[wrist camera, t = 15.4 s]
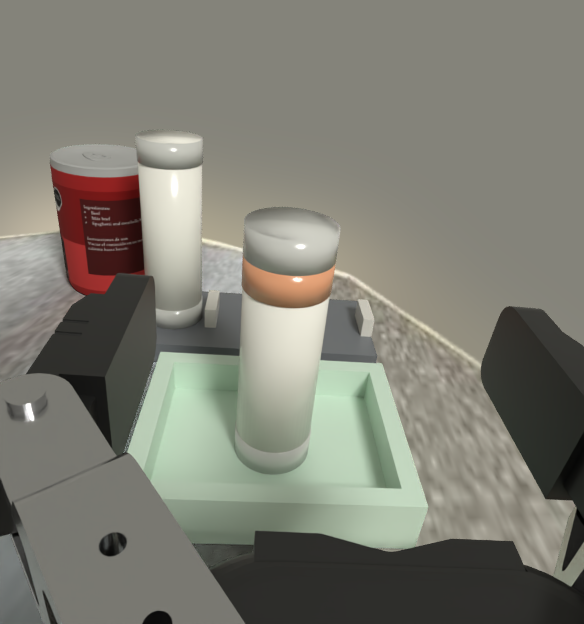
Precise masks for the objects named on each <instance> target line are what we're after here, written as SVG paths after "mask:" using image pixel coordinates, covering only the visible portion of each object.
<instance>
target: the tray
mask: <svg viewBox="0 0 584 624" xmlns="http://www.w3.org/2000/svg"><path fill="white" fill-rule="evenodd" d="M238 374H239V356H230V355H212V354H193V353H174V352H160V355H159V358H158V361H157V364H156V367H155V370H154V373H153V376H152V379H151V382H150V385H149V388H148V391H147V394H146V397H145V400H144V403H143V406H142V409H141V412H140V415H139V418H138V421H137V424H136V427H135V430H134V433H133V436H132V439H131V442H130V445H129V448H128V451H127V453H129V454H131V455H132V456H133V457H134V458H135V460H136V461H137V462H138V464H139V465H140V467H141V468H142V470H143V471H144V473H145V474H146V476H147V477H148V479H149V480H150V482H151V483H152V485H153V486H154V488H155V489H156V491H157V492H158V494H159V495H160V497H161V498H162V500H163V501H164V503H165V504H166V506H167V507H168V509H169V510H170V512H171V513H172V515H173V516H174V518H175V519H176V521H177V522H178V524H179V525H180V527H181V528H182V530H183V531H184V533H185V534H186V536H187V537H188V539H189V540H190V542H191V543H197V544H237V545H254V536H255V531H276V532H300V533H321V534H325V535H328V536H332V537H335V538H339V539H343V540H346V541H350V542H353V543H357V544H361V545H364V546H368V547H371V548H399V549H410V548H414V547H415V545H416V542H417V539H418V536H419V533H420V530H421V528H422V525H423V522H424V519H425V516H426V513H427V510H428V505H427V502H426V499H425V495H424V492H423V489H422V486H421V483H420V480H419V477H418V474H417V471H416V467H415V464H414V461H413V458H412V455H411V452H410V449H409V446H408V443H407V439H406V436H405V433H404V430H403V427H402V424H401V421H400V418H399V415H398V412H397V408H396V405H395V402H394V399H393V396H392V393H391V390H390V387H389V384H388V380H387V377H386V374H385V371H384V368H383V365H382V364H381V363H362V362H343V361H325V360H320V366H319V373H318V380H317V386H316V393H315V400H314V407H313V414H312V421H311V434H310V441H309V448H308V454H307V457H306V459H305V460H304V462H303V463H302V464H301V465H300V466H299V467H297V468H296V469H294V470H292V471H290V472H287V473H283V474H277V475H270V474H263V473H259V472H256V471H254V470H251V469H250V468H248V467H246V466H245V465H244V464H243V463H242V462H241V461H240V460H239V459H238V457H237V455H236V453H235V449H234V441H235V422H236V417H237V396H238Z"/></svg>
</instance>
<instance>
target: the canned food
mask: <svg viewBox="0 0 584 624" xmlns="http://www.w3.org/2000/svg"><path fill="white" fill-rule="evenodd" d="M50 166H51V173H52V182H53V188H54V194H55V201H56V208H57V214H58V221H59V227H60V234H61V241H62V247H63V254H64V260H65V267H66V273H67V277H68V279H69V281H70V283H71V285H72V286H73V288H74V289H75V290H77V291H78V292H80V293H82V294H84V295H89V294H90V293H95V294H105V293H106V291H107V290H108V288H109V286H110V284H111V283H112V281H113V279H114V278H115V276H116V274H118V273H124V274H136V275H145V270H144V254H143V238H142V222H141V206H140V189H139V173H138V161H137V154H136V149H135V148H130V147H125V146H118V145H104V144H89V145H76V146H68V147H64V148H60V149H58V150H55V151H54V152H52V153H51V154H50Z"/></svg>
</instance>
